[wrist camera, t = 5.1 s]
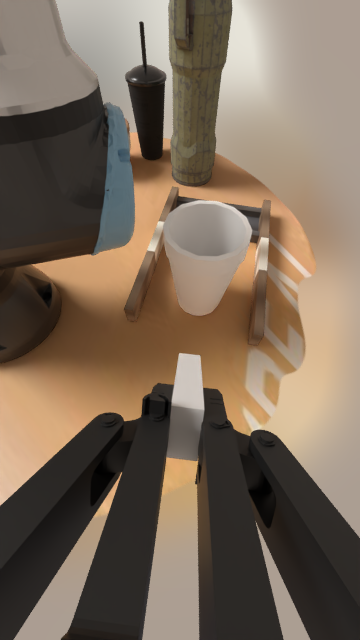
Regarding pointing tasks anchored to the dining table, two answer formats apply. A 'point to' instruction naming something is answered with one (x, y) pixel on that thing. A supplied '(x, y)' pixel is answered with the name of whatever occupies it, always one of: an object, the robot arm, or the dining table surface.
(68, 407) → the dining table surface
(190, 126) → the thermos
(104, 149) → the robot arm
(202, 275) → the foam cup
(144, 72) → the drinking cup
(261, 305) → the lane
